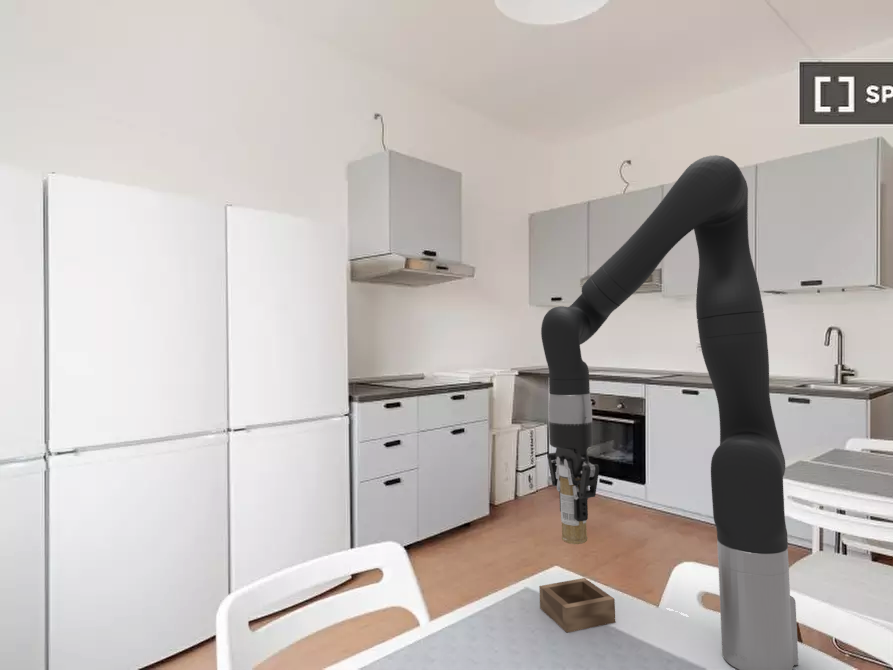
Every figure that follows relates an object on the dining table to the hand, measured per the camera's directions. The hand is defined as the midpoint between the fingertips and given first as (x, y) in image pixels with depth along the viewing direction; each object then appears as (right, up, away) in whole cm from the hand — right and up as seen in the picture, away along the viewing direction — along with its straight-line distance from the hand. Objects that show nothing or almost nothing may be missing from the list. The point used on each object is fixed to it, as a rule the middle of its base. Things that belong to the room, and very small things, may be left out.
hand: (573, 515), depth 98 cm
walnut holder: (0, -17, 0) cm, 17 cm away
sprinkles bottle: (0, -4, 0) cm, 4 cm away
